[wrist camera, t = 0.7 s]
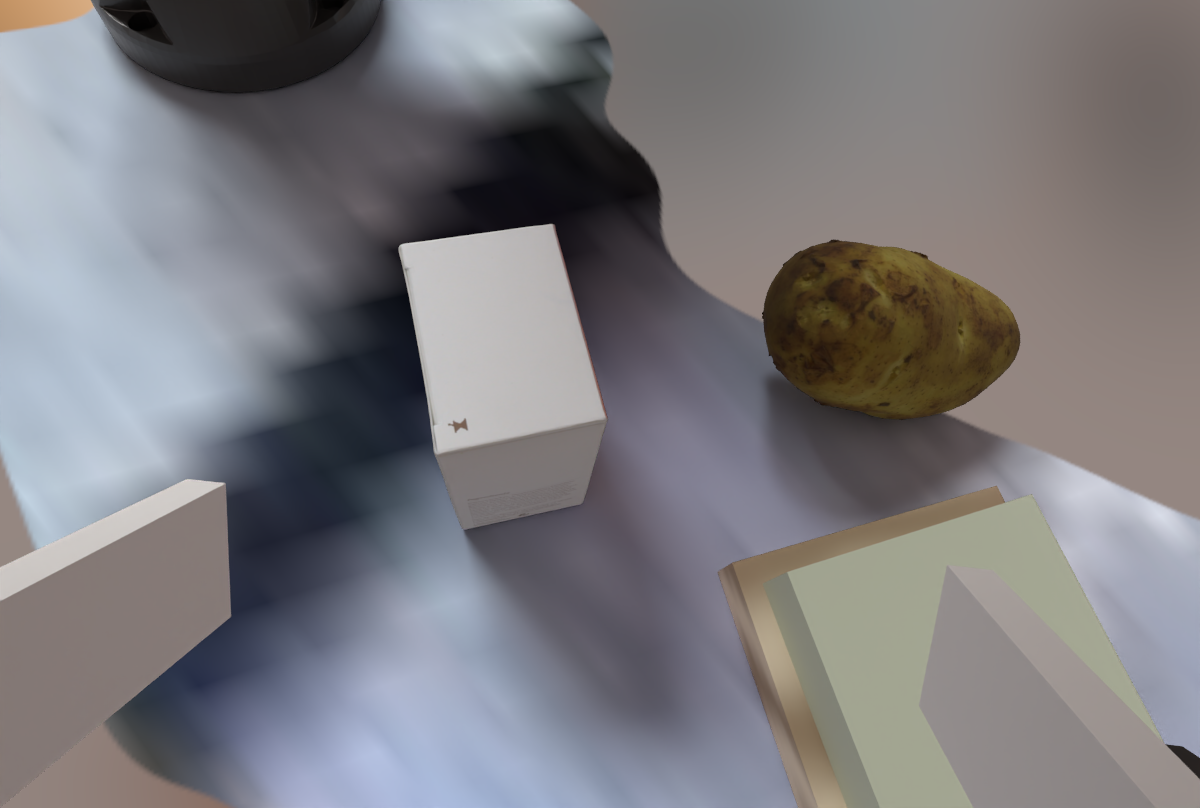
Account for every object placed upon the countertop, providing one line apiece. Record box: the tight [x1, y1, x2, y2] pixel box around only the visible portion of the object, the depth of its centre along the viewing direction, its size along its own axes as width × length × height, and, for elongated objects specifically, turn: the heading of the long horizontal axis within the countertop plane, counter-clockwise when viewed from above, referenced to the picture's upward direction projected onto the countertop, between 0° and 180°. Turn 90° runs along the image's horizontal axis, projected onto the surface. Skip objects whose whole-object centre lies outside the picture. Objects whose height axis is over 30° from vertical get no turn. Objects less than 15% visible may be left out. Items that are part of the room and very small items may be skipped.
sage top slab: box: [763, 494, 1164, 808], centre depth 27 cm, size 11×11×3 cm
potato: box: [762, 240, 1020, 420], centre depth 33 cm, size 8×13×8 cm, turn 76°
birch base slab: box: [718, 486, 1005, 808], centre depth 30 cm, size 13×13×3 cm
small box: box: [399, 224, 608, 530], centre depth 28 cm, size 8×6×10 cm
